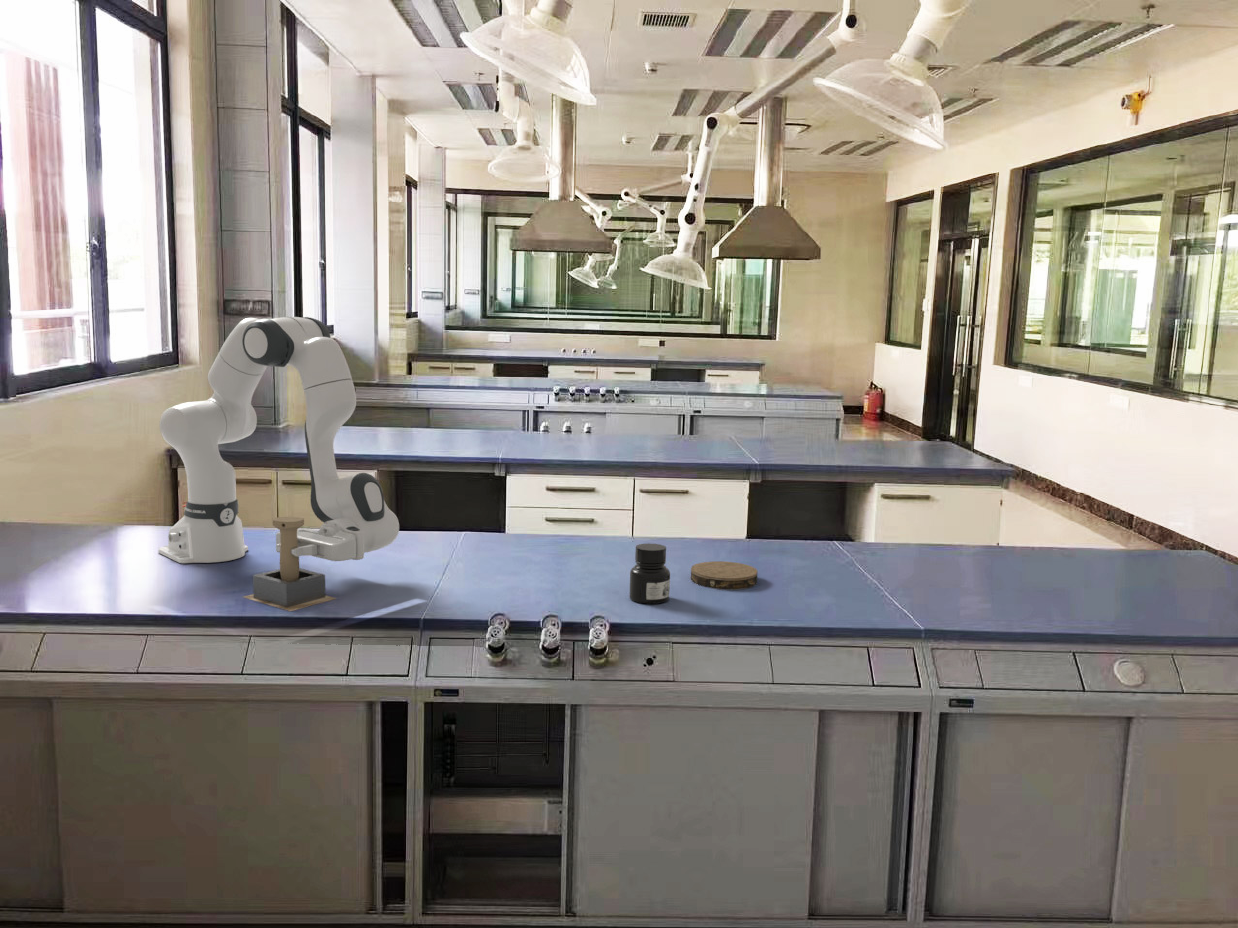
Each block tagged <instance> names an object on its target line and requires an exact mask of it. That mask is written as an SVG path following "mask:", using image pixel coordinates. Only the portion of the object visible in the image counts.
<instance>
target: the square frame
mask: <svg viewBox="0 0 1238 928" xmlns="http://www.w3.org/2000/svg"><path fill="white" fill-rule="evenodd" d="M252 582H253V585H252V587H253V593H252V594H254V598H255V599H259V600H262V601H266V602H269V603H272V604H276V605H279V606H283V607H286V608H288V607H291V606H295V605H299V604H302V603H306V602H310V601H314V600H317V599H321V598H325V595H326V574H323V573H320V572H316V571H312V570H308V569H304V568H301V567H299V578H298V579H296V580H292V581H288V582H287V581H284V580H282V579H281V573H280V568H279V569H275V570H269V571H266V572H261V573H257V574H253V575H252Z"/></svg>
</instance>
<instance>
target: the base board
mask: <svg viewBox="0 0 1238 928" xmlns="http://www.w3.org/2000/svg"><path fill="white" fill-rule="evenodd" d="M243 598H244V599H247V600H251V601H255V602H258V603H261V604H265V605H268V606H271V607H275V608H279V609H280V610H285V611H288V612H292V611H297V610H301V609H305V608H307V607H310V606H314V605H319V604H322V603H326V602H330V601H333V600H337V599H338V598H337V597H332V596H329V595H326V594H325V598H321V599H317V600H314V601H310V602H306V603H302V604H299V605H295V606H291V607H288V608H286V607H283V606H279V605H276V604H272V603H269V602H266V601H262V600H259V599H255V598H254V593H252V594H249V595H245V596H243Z"/></svg>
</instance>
